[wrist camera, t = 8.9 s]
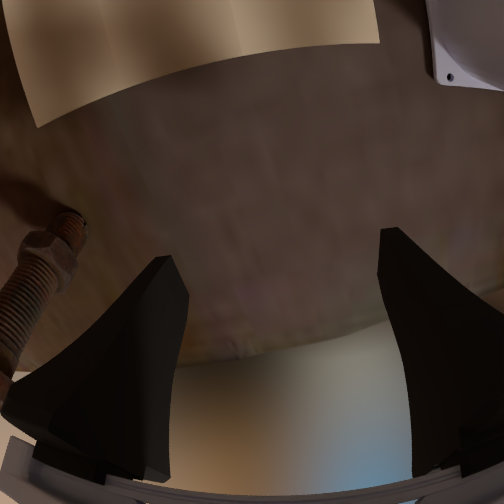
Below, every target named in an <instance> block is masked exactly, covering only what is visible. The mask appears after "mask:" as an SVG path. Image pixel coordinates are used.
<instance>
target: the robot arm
mask: <svg viewBox="0 0 504 504" xmlns="http://www.w3.org/2000/svg"><path fill="white" fill-rule="evenodd" d="M425 1H426V7H427V14H428V21H429V29H430V37H431V47H432V59H433V74H434V79H435V81H436V82H437V83H439V84H441V85H451V86H464V87H475V88H484V89H492V90H500V91H504V0H425ZM448 74H450V75H451V78H450V80H447V75H448ZM377 276H378V280H379V285H380V289H381V294H382V298H383V302H384V305H385V308H386V311H387V313H388V316H389V319H390V322H391V325H392V328H393V331H394V335H395V338H396V341H397V344H398V347H399V350H400V353H401V358H402V362H403V366H404V372H405V378H406V384H407V391H408V398H409V408H410V418H411V432H412V477H413V479H409V480H404V481H400V482H396V483H391V484H386V485H381V486H376V487H370V488H364V489H357V490H350V491H342V492H333V493H324V494H311V495H295V496H294V495H292V496H247V495H227V494H214V493H205V492H196V491H188V490H181V489H174V488H168V487H161V486H156V485H152V484H146V483H142V482H137V481H133V479H138V480H143V479H144V480H149V481H154V482H160V483H164V482H166V481H167V480H169V479H170V477H171V476H170V464H169V463H170V462H169V416H170V402H171V391H172V383H173V377H174V372H175V367H176V363H177V359H178V355H179V351H180V346H181V342H182V338H183V334H184V330H185V326H186V321H187V314H188V305H189V293H188V291H187V289H186V287H185V285H184V283H183V281H182V278H181V276H180V274H179V272H178V270H177V267H176V265H175V263H174V261H173V259H172V256H171V255H168V256H160V257H156V258H154V259H153V260H152V261H151V262H150V263H149V264H148V265H147V267H146V268H145V269H144V270H143V271H142V272H141V273H140V274H139V275H138V276H137V278H136V279H135V280H134V281H133V282H132V283H131V284H130V285H129V287H128V288H127V289H126V290H125V291H124V292H123V293H122V294H121V296H120V297H119V298H118V299H117V300H116V301H115V302H114V303H113V304H112V305H111V306H110V307H109V308H108V310H107V311H106V312H105V313H104V314H103V315H102V316H101V317H100V318H99V319H98V320H97V321H96V322H95V323H94V324H93V325H92V326H91V327H90V328H89V329H88V330H87V331H85V332H84V333H83V334H82V335H81V336H80V337H79V338H78V339H77V340H75V341H74V342H73V343H72V344H70V345H69V346H68V347H67V348H65V349H64V350H63V351H62V352H61V353H59V354H58V355H57V356H55V357H54V358H53V359H51V360H50V361H48V362H47V363H46V364H44V365H43V366H41V367H40V368H38V369H37V370H35V371H33V372H32V373H30V374H28V375H27V376H25V377H23V378H22V379H20V380H18V381H16V382H14V383H12V384H11V386H10V388H9V390H8V392H7V395H6V397H5V400H4V402H3V405H2V407H1V410H0V413H1V415H2V417H3V418H4V419H6V420H7V421H8V422H9V423H11V424H12V425H14V426H15V427H17V428H18V429H20V430H21V431H23V432H25V433H26V434H27V435H29V436H30V437H32V438H34V439H35V440H37V442H36V445H35V446H34V445H32V444H29V443H27V442H25V441H23V440H21V439H19V438H17V437H15V436H11V437H10V440H9V443H8V446H7V449H6V453H5V456H4V460H3V463H2V467H1V470H0V491H2V492H4V493H5V494H6V495H8V496H9V497H10V498H12V499H13V500H15V501H16V502H17V503H19V504H146V503H149V504H398V503H403V502H407V501H411V500H415V499H418V500H417V501H416V502H415V504H504V314H502V313H501V312H499V311H498V310H496V309H495V308H493V307H492V306H490V305H489V304H487V303H486V302H484V301H483V300H482V299H480V298H479V297H478V296H476V295H475V294H474V293H472V292H471V291H470V290H468V289H467V288H466V287H464V286H463V285H462V284H461V283H459V282H458V281H457V280H456V279H455V278H454V277H452V276H451V275H450V274H449V273H448V272H446V271H445V270H444V269H443V268H442V267H441V266H440V265H438V264H437V263H436V262H435V261H434V260H433V259H432V258H431V257H430V256H429V255H427V254H426V253H425V252H424V251H423V250H422V249H421V248H420V247H419V246H418V245H417V244H416V243H414V242H413V241H412V240H411V239H410V238H409V237H408V236H407V235H406V234H405V233H404V232H403V231H401V230H400V229H399V228H398V227H394V228H386V229H381V231H380V247H379V260H378V272H377ZM419 498H420V499H419ZM144 502H145V503H144Z"/></svg>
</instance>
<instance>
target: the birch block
mask: <svg viewBox="0 0 504 504" xmlns="http://www.w3.org/2000/svg"><path fill="white" fill-rule="evenodd" d="M2 4H3V10H4V15H5V20H6V25H7V29H8V34H9V38H10V42H11V46H12V50H13V54H14V58H15V62H16V65H17V69H18V72H19V76H20V79H21V82H22V85H23V88H24V92H25V95H26V98H27V101H28V103H29V106H30V109H31V112H32V115H33V118H34V120H35V123H36V126H37V128H39V127H41V126H43V125H44V124H46V123H48V122H50V121H52V120H54V119H56V118H58V117H60V116H62V115H64V114H66V113H69V112H71V111H73V110H75V109H77V108H79V107H82V106H84V105H86V104H88V103H91V102H93V101H95V100H98V99H100V98H102V97H105V96H107V95H110V94H112V93H115V92H118V91H120V90H123V89H126V88H128V87H131V86H134V85H137V84H139V83H142V82H145V81H148V80H151V79H154V78H158V77H161V76H164V75H167V74H171V73H174V72H177V71H181V70H184V69H188V68H192V67H196V66H200V65H204V64H208V63H212V62H216V61H220V60H225V59H230V58H235V57H240V56H245V55H250V54H256V53H262V52H268V51H275V50H282V49H290V48H298V47H307V46H318V45H332V44H352V43H380V41H379V34H378V27H377V21H376V15H375V9H374V4H373V0H2Z"/></svg>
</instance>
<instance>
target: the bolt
mask: <svg viewBox="0 0 504 504" xmlns="http://www.w3.org/2000/svg"><path fill="white" fill-rule="evenodd" d="M83 223H84V220H83V219H82V218H81V217H80V216H78V215H77V214H75V213H72V212H65V213H62V214H60V215H59V216H58V217H56V218H55V220H54V221H53V222H52V223H51V224H50V225H49V227H48V228H47V229H46V230H45V231H31V232H29V233H28V235H27V236H26V237H25V238H24V239H23V241H22V242H21V245H20V248H19V251H18V255H17V261H18V266H17V268H16V269H15V270H14V272H13V274H12V275H11V276H10V278H9V280H8V281H7V283H6V284H5V285H4V287H3V288H2V289H1V291H0V410H1V407H2V405H3V402H4V400H5V397H6V395H7V392H8V390H9V388H10V386H11V384H12V383H14V382H13V381H12V380H11V379H12V377H13V374H14V372H15V370H16V368H17V366H18V363H19V357H20V355H21V353H22V352H23V348H25V344H27V340H28V339H29V338H30V335H31V334H32V331H33V330H34V327H35V326H36V323H37V322H38V320H39V319H40V317H41V315H42V313H43V311H44V310H45V307H46V306H47V303H48V302H49V300H50V299H51V297H52V296H53V295H57V294H64V293H65V292H66V290H67V288H68V287H69V285H70V283H71V281H72V279H73V277H74V275H75V272H76V270H77V267H78V263H77V260H76V257H77V255H78V254H79V252H80V251H81V249H82V248H83V246H84V244H85V243H86V239H87V238H88V232H89V229H88V227H87V224H86V225H85V226H84V225H83Z"/></svg>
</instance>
